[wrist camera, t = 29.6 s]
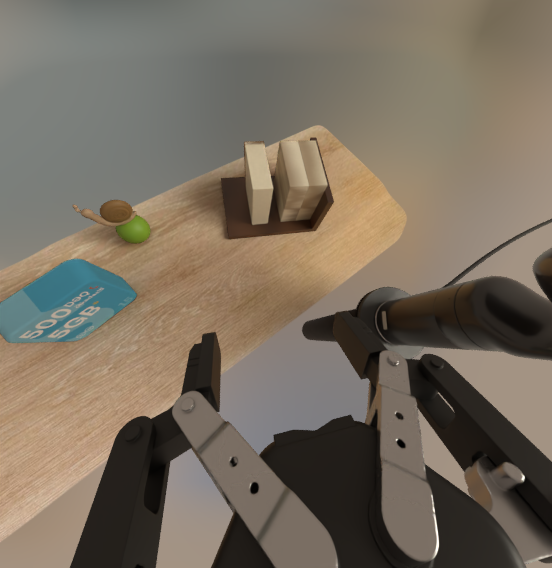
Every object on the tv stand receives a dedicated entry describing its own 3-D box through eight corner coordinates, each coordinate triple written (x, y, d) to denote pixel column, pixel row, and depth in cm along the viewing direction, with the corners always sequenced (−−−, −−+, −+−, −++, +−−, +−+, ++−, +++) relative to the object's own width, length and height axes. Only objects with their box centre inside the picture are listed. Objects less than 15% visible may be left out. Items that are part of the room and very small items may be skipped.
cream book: (260, 185, 47) (263, 141, 36) (267, 223, 44) (273, 188, 34) (245, 186, 46) (243, 141, 36) (251, 224, 44) (252, 189, 33)
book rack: (302, 177, 50) (318, 129, 39) (315, 230, 47) (337, 196, 35) (221, 181, 47) (212, 130, 35) (229, 239, 43) (221, 204, 32)
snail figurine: (116, 234, 40) (63, 194, 29) (146, 219, 42) (108, 175, 31) (130, 255, 40) (81, 222, 28) (160, 239, 41) (125, 202, 30)
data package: (80, 341, 35) (-3, 344, 23) (65, 323, 35) (-25, 317, 24) (140, 295, 38) (93, 277, 27) (125, 278, 39) (73, 254, 27)
